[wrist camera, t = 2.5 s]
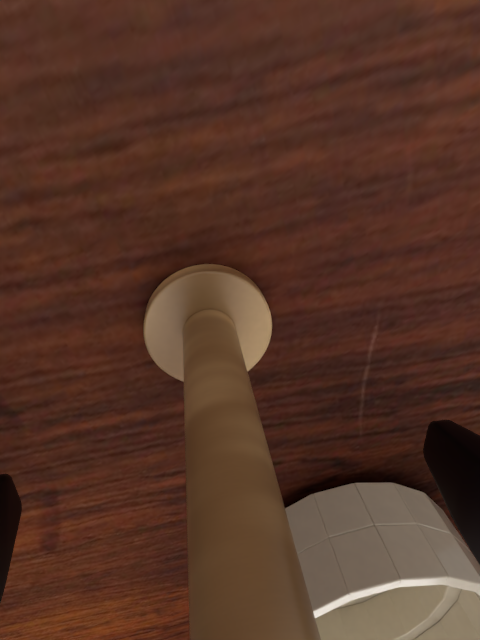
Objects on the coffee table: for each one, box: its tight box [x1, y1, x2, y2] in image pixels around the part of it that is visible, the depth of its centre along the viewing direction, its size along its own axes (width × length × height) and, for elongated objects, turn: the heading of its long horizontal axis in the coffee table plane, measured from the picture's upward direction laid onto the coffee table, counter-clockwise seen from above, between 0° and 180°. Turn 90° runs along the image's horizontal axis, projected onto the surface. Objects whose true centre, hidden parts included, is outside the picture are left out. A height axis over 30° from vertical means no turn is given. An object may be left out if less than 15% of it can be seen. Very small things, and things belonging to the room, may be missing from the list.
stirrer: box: [143, 264, 321, 640], centre depth 10 cm, size 4×4×11 cm
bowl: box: [285, 482, 480, 640], centre depth 19 cm, size 11×11×5 cm
